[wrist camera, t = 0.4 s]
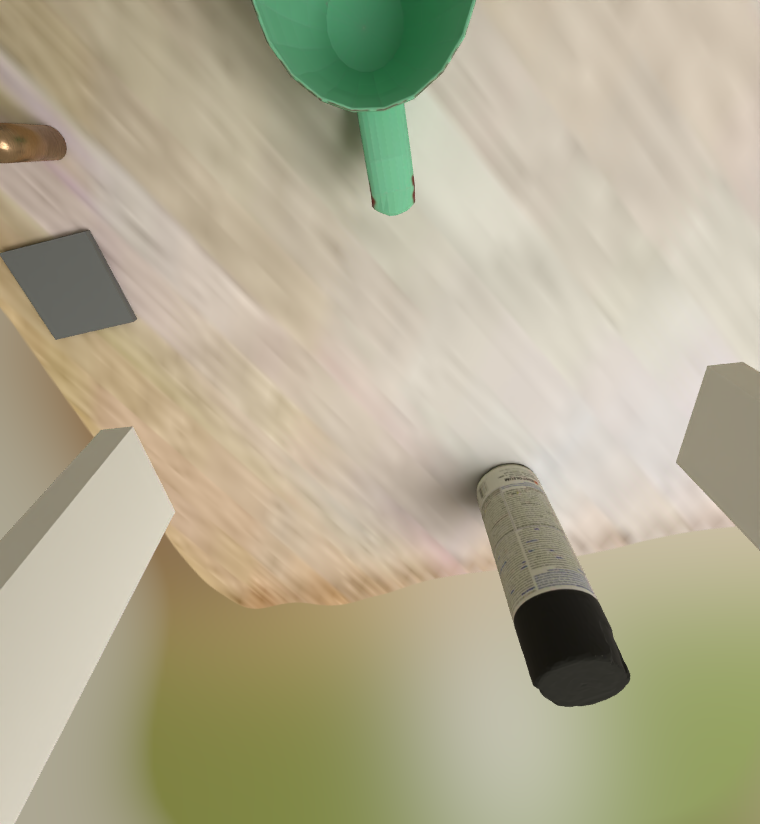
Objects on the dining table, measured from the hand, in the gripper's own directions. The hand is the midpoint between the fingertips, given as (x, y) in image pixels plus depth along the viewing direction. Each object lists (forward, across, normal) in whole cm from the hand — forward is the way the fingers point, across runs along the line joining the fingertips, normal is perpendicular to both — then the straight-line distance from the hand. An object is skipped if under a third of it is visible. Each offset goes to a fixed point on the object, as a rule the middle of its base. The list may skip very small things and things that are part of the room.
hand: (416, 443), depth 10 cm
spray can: (+26, +10, -26) cm, 39 cm away
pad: (+26, -25, -1) cm, 36 cm away
